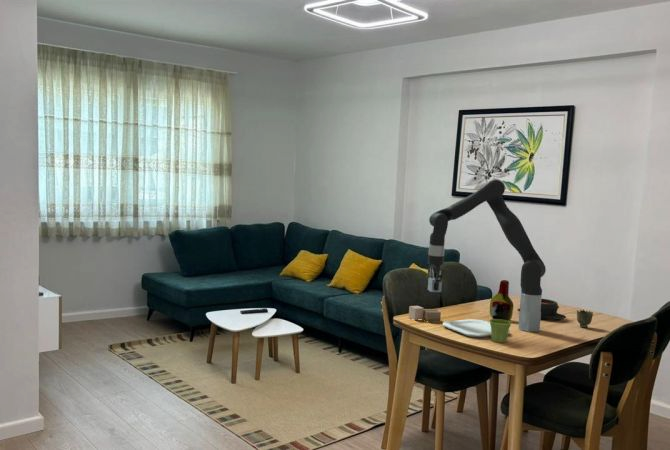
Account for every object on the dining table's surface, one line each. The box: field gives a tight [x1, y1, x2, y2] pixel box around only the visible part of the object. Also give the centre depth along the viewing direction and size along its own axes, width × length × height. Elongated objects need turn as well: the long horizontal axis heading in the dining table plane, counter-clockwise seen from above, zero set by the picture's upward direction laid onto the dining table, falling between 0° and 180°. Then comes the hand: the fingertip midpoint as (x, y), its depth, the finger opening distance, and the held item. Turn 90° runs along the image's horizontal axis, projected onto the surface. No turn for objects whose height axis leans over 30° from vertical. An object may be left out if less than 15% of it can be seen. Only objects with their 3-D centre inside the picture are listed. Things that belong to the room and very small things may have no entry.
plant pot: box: [488, 318, 513, 344], centre depth 262 cm, size 9×9×9 cm
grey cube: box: [427, 277, 443, 293], centre depth 293 cm, size 5×5×6 cm
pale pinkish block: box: [408, 305, 425, 321], centre depth 295 cm, size 5×5×6 cm
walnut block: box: [423, 308, 442, 323], centre depth 294 cm, size 7×7×5 cm
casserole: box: [516, 298, 567, 320], centre depth 316 cm, size 25×19×8 cm
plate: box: [442, 318, 510, 339], centre depth 279 cm, size 25×25×2 cm
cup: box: [576, 309, 594, 329], centre depth 297 cm, size 8×7×8 cm
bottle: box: [489, 279, 514, 321], centre depth 304 cm, size 12×6×20 cm, turn 46°
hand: (433, 289), depth 293 cm, fingers closed on grey cube, 5 cm apart
